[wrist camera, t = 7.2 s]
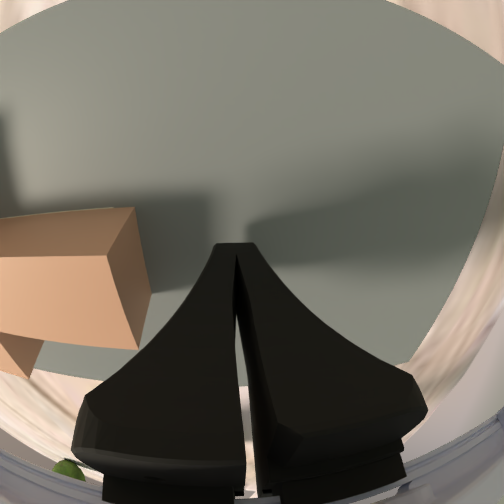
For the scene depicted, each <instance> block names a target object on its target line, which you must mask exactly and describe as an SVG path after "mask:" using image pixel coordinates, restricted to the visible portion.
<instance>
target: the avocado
mask: <svg viewBox="0 0 504 504" xmlns="http://www.w3.org/2000/svg"><path fill="white" fill-rule="evenodd" d="M52 471H53V472H56V473H59V474H62V475H65V476H68V477H71V478H74V479H77V480H81V481H84V482H86V481H85V477H84V474H83V472H82V471H81V469H80V468H79V467H78V466H77V465H75V464H74V463H72V462H71V461H68V460H62V461H59V462H58V463H57V464H56V465H55V466H54V468H53V470H52Z"/></svg>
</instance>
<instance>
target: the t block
mask: <svg viewBox="0 0 504 504" xmlns="http://www.w3.org/2000/svg"><path fill="white" fill-rule="evenodd" d="M151 295H152V292H151V288H150V284H149V280H148V275H147V270H146V266H145V261H144V256H143V251H142V246H141V241H140V235H139V230H138V224H137V218H136V212H135V207H122V208H106V209H93V210H80V211H68V212H58V213H48V214H38V215H29V216H21V217H12V218H5V219H0V371H3V372H7V373H10V374H13V375H16V376H20V377H23V378H27V379H29V378H30V375H31V373H32V370H33V367H34V365H35V362H36V360H37V357H38V355H39V353H40V350H41V348H42V346H43V343H44V341H45V340H47V341H54V342H61V343H68V344H76V345H85V346H94V347H105V348H117V349H131V350H139V346H140V341H141V337H142V332H143V328H144V323H145V319H146V315H147V311H148V307H149V303H150V299H151Z"/></svg>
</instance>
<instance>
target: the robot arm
mask: <svg viewBox="0 0 504 504" xmlns="http://www.w3.org/2000/svg"><path fill="white" fill-rule="evenodd" d="M236 315H237V321H238V327H239V332H240V338H241V344H242V349H243V355H244V360H245V365H246V371H247V378H248V389H249V400H250V412H251V424H252V436H253V448H254V460H255V472H256V484H257V494H258V498H250V499H235V496H244V486H245V478H246V453H245V442H244V431H243V423H242V414H241V404H240V395H239V385H238V374H237V363H236V351H235V338H236ZM427 412H428V408H427V405H426V403H425V400H424V398H423V396H422V393H421V391H420V389H419V387H418V385H417V383H416V381H415V379H414V378H413V376H412V375H411V374H409V373H407V372H405V371H403V370H401V369H399V368H397V367H395V366H393V365H391V364H389V363H387V362H385V361H383V360H381V359H379V358H377V357H375V356H373V355H372V354H370V353H368V352H367V351H365V350H363V349H362V348H360V347H358V346H357V345H355V344H354V343H352V342H351V341H349V340H348V339H346V338H345V337H343V336H342V335H341V334H339V333H338V332H336V331H335V330H334V329H332V328H331V327H330V326H328V325H327V324H326V323H324V322H323V321H322V320H321V319H319V318H318V317H317V316H316V315H315V314H314V313H313V312H312V311H310V310H309V309H308V308H307V307H306V306H305V305H304V304H303V303H302V302H301V301H300V300H299V299H298V298H297V297H296V296H295V295H294V294H293V293H292V292H291V291H290V289H289V288H288V287H287V286H286V285H285V284H284V283H283V282H282V280H281V279H280V278H279V277H278V275H277V274H276V273H275V272H274V270H273V269H272V268H271V266H270V265H269V264H268V262H267V261H266V260H265V258H264V257H263V255H262V254H261V252H260V251H259V249H258V247H257V246H256V245H255V244H254V243H253V242H245V243H216V244H215V245H214V246H213V249H212V252H211V254H210V257H209V259H208V261H207V263H206V265H205V267H204V269H203V271H202V272H201V274H200V276H199V278H198V280H197V281H196V283H195V285H194V286H193V288H192V289H191V291H190V292H189V294H188V295H187V297H186V298H185V300H184V301H183V303H182V304H181V305H180V307H179V308H178V309H177V311H176V312H175V313H174V314H173V316H172V317H171V318H170V319H169V321H168V322H167V323H166V324H165V325H164V326H163V328H162V329H161V330H160V331H159V332H158V333H157V334H156V335H155V336H154V338H153V339H152V340H151V341H150V342H149V343H148V344H147V345H146V346H145V347H144V348H143V349H141V350H140V351H139V352H138V353H137V354H136V355H135V356H134V357H133V358H132V359H131V360H129V361H128V362H127V363H126V364H125V365H124V366H123V367H122V368H121V369H119V370H118V371H117V372H116V373H114V374H113V375H112V376H110V377H109V378H108V379H106V380H105V381H104V382H103V383H101V384H100V385H99V386H97V387H96V388H95V389H93V390H92V391H90V392H89V393H88V394H86V395H85V397H84V400H83V403H82V405H81V408H80V410H79V413H78V417H77V421H76V425H75V430H74V435H73V441H72V446H71V451H72V453H73V454H74V456H75V457H76V458H77V459H79V460H80V461H81V462H83V463H85V464H86V465H88V466H90V467H92V468H93V469H95V470H97V471H99V472H101V473H103V474H104V477H103V486H99V485H95V484H91V483H88V482H84V481H81V480H77V479H74V478H71V477H68V476H65V475H62V474H59V473H56V472H53V471H51V470H48V469H45V468H43V467H40V466H38V465H35V464H33V463H31V462H28V461H26V460H24V459H22V458H19V457H17V456H15V455H13V454H11V453H9V452H7V451H5V450H3V449H1V448H0V504H349V503H353V502H356V501H359V500H363V499H365V498H369V497H371V496H375V495H377V494H380V493H383V492H386V491H388V490H391V489H393V488H396V487H398V486H401V485H402V486H401V487H400V488H399V489H398V492H397V494H396V495H395V496H392V497H390V498H386V499H384V500H381V501H378V502H375V503H372V504H497V503H498V502H499V500H500V499H501V498H502V497H503V496H504V407H503V408H501V409H500V410H499V411H498V412H497V414H495V415H494V416H492V417H491V418H489V419H488V420H486V421H485V422H483V423H482V424H480V425H479V426H477V427H475V428H474V429H472V430H470V431H469V432H467V433H465V434H463V435H462V436H460V437H458V438H456V439H455V440H453V441H451V442H449V443H447V444H445V445H443V446H441V447H439V448H437V449H435V450H433V451H431V452H429V453H427V454H425V455H423V456H420V457H418V458H416V459H414V460H411V461H409V462H406V463H404V464H403V462H402V459H401V456H400V453H401V452H403V451H404V445H403V443H402V440H401V438H402V437H403V436H405V435H406V434H407V433H408V432H410V431H411V430H412V429H413V428H415V427H416V426H417V425H418V424H419V423H420V422H421V421H422V420H423V419H424V418H425V416H426V414H427Z"/></svg>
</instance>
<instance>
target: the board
mask: <svg viewBox="0 0 504 504" xmlns="http://www.w3.org/2000/svg"><path fill="white" fill-rule="evenodd" d="M503 145H504V65H503V64H501V63H500V62H499V61H497V60H496V59H495V58H493V57H492V56H490V55H489V54H488V53H486V52H485V51H483V50H482V49H480V48H479V47H477V46H476V45H474V44H473V43H471V42H470V41H468V40H466V39H465V38H463V37H461V36H460V35H458V34H456V33H454V32H453V31H451V30H449V29H447V28H446V27H444V26H442V25H440V24H438V23H436V22H434V21H432V20H430V19H428V18H426V17H424V16H422V15H420V14H417V13H415V12H413V11H411V10H408V9H406V8H404V7H401V6H399V5H396V4H394V3H391V2H388V1H386V0H68V1H65V2H63V3H60V4H58V5H55V6H53V7H51V8H48V9H46V10H44V11H42V12H39V13H37V14H35V15H33V16H31V17H29V18H27V19H25V20H23V21H21V22H19V23H17V24H15V25H14V26H12V27H10V28H8V29H7V30H5V31H3V32H1V33H0V219H5V218H12V217H21V216H29V215H38V214H48V213H58V212H68V211H80V210H93V209H106V208H122V207H135V212H136V218H137V224H138V230H139V235H140V241H141V246H142V251H143V256H144V261H145V266H146V270H147V275H148V280H149V284H150V288H151V292H152V295H151V299H150V303H149V307H148V311H147V315H146V319H145V323H144V328H143V332H142V337H141V341H140V346H139V350H131V349H117V348H105V347H94V346H85V345H76V344H68V343H61V342H54V341H47V340H45V341H44V343H43V346H42V348H41V350H40V353H39V355H38V357H37V360H36V362H35V365H34V367H33V368H35V369H39V370H44V371H48V372H53V373H58V374H63V375H69V376H74V377H80V378H87V379H93V380H101V381H105V380H106V379H108V378H109V377H110V376H112V375H113V374H114V373H116V372H117V371H118V370H119V369H121V368H122V367H123V366H124V365H125V364H126V363H127V362H128V361H129V360H131V359H132V358H133V357H134V356H135V355H136V354H137V353H138V352H139V351H140V350H141V349H143V348H144V347H145V346H146V345H147V344H148V343H149V342H150V341H151V340H152V339H153V338H154V336H155V335H156V334H157V333H158V332H159V331H160V330H161V329H162V328H163V326H164V325H165V324H166V323H167V322H168V321H169V319H170V318H171V317H172V316H173V314H174V313H175V312H176V311H177V309H178V308H179V307H180V305H181V304H182V303H183V301H184V300H185V298H186V297H187V295H188V294H189V292H190V291H191V289H192V288H193V286H194V285H195V283H196V281H197V280H198V278H199V276H200V274H201V272H202V271H203V269H204V267H205V265H206V263H207V261H208V259H209V257H210V254H211V252H212V249H213V246H214V245H215V244H216V243H245V242H253V243H254V244H255V245H256V246H257V247H258V249H259V251H260V252H261V254H262V255H263V257H264V258H265V260H266V261H267V262H268V264H269V265H270V266H271V268H272V269H273V270H274V272H275V273H276V274H277V275H278V277H279V278H280V279H281V280H282V282H283V283H284V284H285V285H286V286H287V287H288V288H289V289H290V291H291V292H292V293H293V294H294V295H295V296H296V297H297V298H298V299H299V300H300V301H301V302H302V303H303V304H304V305H305V306H306V307H307V308H308V309H309V310H310V311H312V312H313V313H314V314H315V315H316V316H317V317H318V318H319V319H321V320H322V321H323V322H324V323H326V324H327V325H328V326H330V327H331V328H332V329H334V330H335V331H336V332H338V333H339V334H341V335H342V336H343V337H345V338H346V339H348V340H349V341H351V342H352V343H354V344H355V345H357V346H358V347H360V348H362V349H363V350H365V351H367V352H368V353H370V354H372V355H373V356H375V357H377V358H379V359H381V360H383V361H385V362H387V363H389V364H391V365H397V364H402V363H406V362H409V360H410V359H411V358H412V356H413V355H414V353H415V352H416V350H417V349H418V347H419V346H420V344H421V343H422V341H423V340H424V338H425V336H426V335H427V333H428V332H429V330H430V328H431V327H432V325H433V323H434V322H435V320H436V318H437V317H438V315H439V313H440V311H441V310H442V308H443V306H444V304H445V303H446V301H447V299H448V297H449V295H450V293H451V291H452V289H453V287H454V285H455V283H456V281H457V279H458V277H459V275H460V273H461V271H462V269H463V267H464V265H465V262H466V260H467V258H468V256H469V253H470V251H471V249H472V246H473V244H474V241H475V239H476V236H477V234H478V231H479V229H480V226H481V223H482V221H483V218H484V215H485V212H486V209H487V206H488V203H489V200H490V197H491V193H492V190H493V187H494V183H495V179H496V176H497V172H498V168H499V164H500V159H501V155H502V150H503ZM235 351H236V363H237V374H238V385H239V386H248V378H247V371H246V365H245V360H244V355H243V349H242V344H241V338H240V332H239V327H238V321H237V315H236V338H235Z"/></svg>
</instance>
